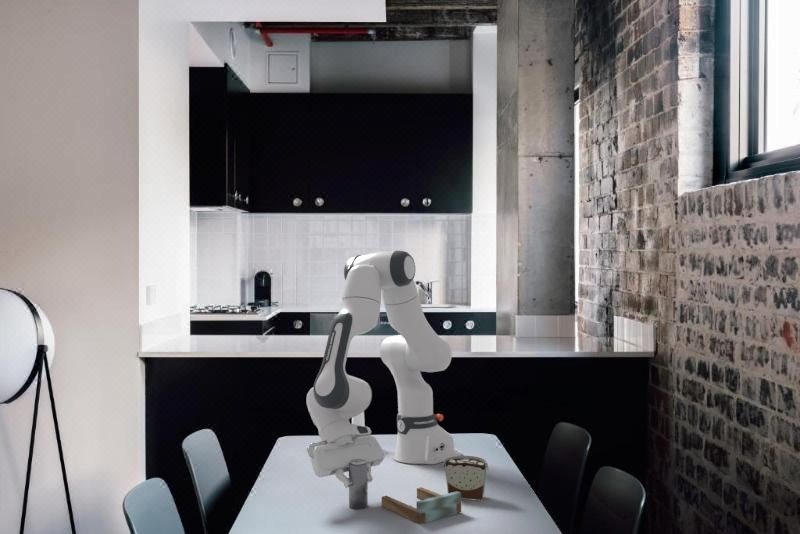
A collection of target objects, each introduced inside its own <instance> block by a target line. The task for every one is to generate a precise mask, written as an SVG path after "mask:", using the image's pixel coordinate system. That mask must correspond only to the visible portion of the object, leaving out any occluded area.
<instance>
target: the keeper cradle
mask: <svg viewBox="0 0 800 534" xmlns="http://www.w3.org/2000/svg"><path fill="white" fill-rule="evenodd" d="M416 498H417V499H419V500H418V501H416V507H415V506H412V505H409V504H407V503H405V502H402V501H400V500H398V499H395V498H393V497H390V496H388V495H383V496H381V507H382V508H384V509H386V510H388V511H391V512H394V513H396V514H397V515H400V516H402V517H404V518H406V519H408V520H411V521H413V522H415V523H418V524H420V525H422V524H426V523H430V522H432V521H435V520H441V519H444V518H447V517H451V516H454V515H458V514H461V513H462V499H461V492H458V491H456V492H452V493H448V492H447V493H445V494H439V493H437V492H435V491H432V490H430V489H427V488H425V487H422V486H421V487H417V488H416ZM460 512H461V513H460ZM457 513H458V514H457Z"/></svg>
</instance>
